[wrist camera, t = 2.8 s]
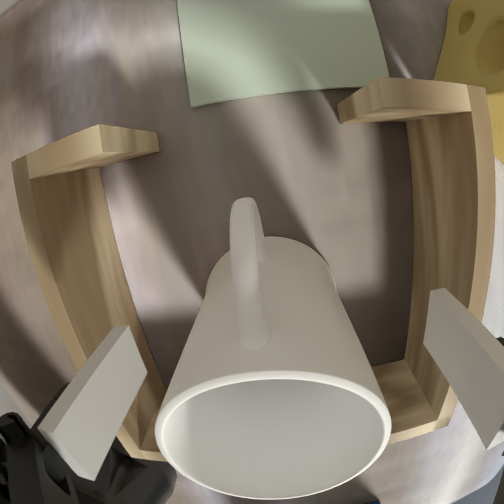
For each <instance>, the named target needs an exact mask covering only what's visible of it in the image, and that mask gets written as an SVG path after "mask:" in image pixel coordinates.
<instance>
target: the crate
mask: <svg viewBox="0 0 504 504" xmlns="http://www.w3.org/2000/svg"><path fill="white" fill-rule="evenodd" d="M337 108H338V114H339V120H340V124H346V123H366V122H406V127H407V135H408V143H409V152H410V162H411V174H412V189H413V212H414V258H413V282H412V297H411V309H410V319H409V328H408V336H407V344H406V351H405V358H404V360H399V361H395V362H391V363H386V364H382V365H377V366H372V367H371V368H372V371H373V373H374V376H375V378H376V380H377V383H378V385H379V387H380V390H381V392H382V395H383V397H384V400H385V402H386V405H387V407H388V410H389V413H390V417H391V434H390V438H389V441H388V443H387V445H388V444H392V443H395V442H399V441H403V440H406V439H409V438H413V437H416V436H419V435H422V434H425V433H428V432H431V431H434V430H437V429H440V428H443V427H445V426H448V424H449V422H450V419H451V417H452V415H453V412H454V410H455V407H456V404H457V402H458V398H457V396H456V394H455V393H454V391H453V389H452V388H451V386H450V384H449V383H448V381H447V379H446V378H445V376H444V375H443V373H442V372H441V370H440V368H439V367H438V365H437V364H436V362H435V361H434V359H433V358H432V356H431V354H430V353H429V351H428V350H427V348H426V347H425V345H424V344H423V341H424V335H425V329H426V322H427V314H428V306H429V298H430V291H431V290H436V289H441V288H446V289H447V290H448V291H449V292H450V293H451V294H452V295H453V296H454V297H455V298H456V299H457V300H458V301H459V302H460V303H461V304H462V305H464V306H465V307H466V308H467V309H468V310H469V311H470V312H471V313H472V314H473V315H474V316H475V317H476V318H477V319H478V320H479V321H480V322H482V317H483V312H484V307H485V302H486V297H487V291H488V285H489V278H490V271H491V263H492V254H493V243H494V229H495V162H494V148H493V137H492V129H491V121H490V114H489V107H488V101H487V96H486V90H485V88H484V87H478V86H472V85H466V84H459V83H452V82H443V81H434V80H423V79H410V78H389V77H377V78H376V79H374V80H373V81H371V82H370V83H368V84H367V85H365V86H364V87H362V88H361V89H359V90H358V91H356V92H355V93H353V94H352V95H350V96H349V97H347V98H346V99H344V100H343V101H341V102H340V103H338V104H337ZM159 151H160V148H159V142H158V136H157V132H151V131H145V130H138V129H132V128H125V127H118V126H110V125H103V124H97V125H95V126H92V127H89V128H87V129H84V130H81V131H79V132H76V133H74V134H71V135H69V136H67V137H64V138H62V139H59V140H57V141H55V142H53V143H50V144H48V145H46V146H44V147H42V148H39V149H37V150H35V151H33V152H31V153H29V154H27V155H25V156H23V157H21V158H19V159H17V160H15V161H13V162H11V163H12V171H13V177H14V183H15V189H16V195H17V200H18V205H19V210H20V214H21V219H22V223H23V227H24V231H25V235H26V239H27V243H28V246H29V250H30V253H31V257H32V260H33V263H34V266H35V270H36V273H37V276H38V279H39V282H40V285H41V288H42V290H43V293H44V296H45V299H46V301H47V304H48V306H49V309H50V312H51V314H52V317H53V319H54V321H55V324H56V326H57V328H58V331H59V333H60V335H61V338H62V340H63V342H64V344H65V346H66V348H67V351H68V353H69V355H70V357H71V359H72V361H73V363H74V365H75V367H76V369H77V371H78V372H79V370H80V369H81V368H82V367H83V365H84V364H85V363H86V361H87V360H88V359H89V357H90V356H91V355H92V354H93V352H94V351H95V350H96V349H97V347H98V346H99V345H100V344H101V342H102V341H103V340H104V339H105V337H106V336H107V335H108V334H109V332H110V331H111V330H112V329H113V327H114V326H122V325H129V328H130V330H131V333H132V335H133V338H134V341H135V343H136V346H137V348H138V351H139V353H140V356H141V358H142V361H143V363H144V365H145V368H146V370H147V372H148V373H147V375H146V377H145V379H144V381H143V383H142V385H141V386H140V388H139V390H138V392H137V394H136V396H135V398H134V400H133V402H132V404H131V406H130V408H129V410H128V412H127V414H126V416H125V418H124V420H123V422H122V424H121V426H120V428H119V430H118V432H117V434H116V436H117V438H118V439H119V441H120V442H121V443H122V445H123V446H124V448H125V449H126V450H127V452H128V453H129V455H130V456H131V457H133V458H139V459H147V460H155V461H164V462H168V461H167V460H166V459H165V457H164V456H163V455H162V453H161V451H160V449H159V447H158V445H157V442H156V438H155V424H156V419H157V416H158V413H159V411H160V408H161V405H162V403H163V400H164V398H165V395H166V392H167V390H168V387H169V386H164V384H163V381H162V379H161V377H160V374H159V372H158V369H157V367H156V364H155V362H154V359H153V357H152V354H151V351H150V349H149V346H148V343H147V341H146V338H145V335H144V332H143V330H142V327H141V324H140V321H139V318H138V315H137V312H136V309H135V306H134V303H133V300H132V297H131V294H130V290H129V287H128V284H127V281H126V277H125V274H124V270H123V267H122V263H121V260H120V256H119V252H118V248H117V245H116V241H115V237H114V233H113V228H112V224H111V220H110V216H109V211H108V207H107V202H106V197H105V192H104V187H103V182H102V176H101V171H100V167H104V166H107V165H110V164H114V163H117V162H121V161H125V160H128V159H132V158H136V157H139V156H143V155H147V154H151V153H155V152H159Z"/></svg>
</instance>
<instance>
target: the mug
mask: <svg viewBox="0 0 504 504" xmlns="http://www.w3.org/2000/svg"><path fill="white" fill-rule="evenodd" d="M390 434H391V417H390V413H389V410H388V407H387V405H386V402H385V400H384V397H383V395H382V392H381V390H380V387H379V385H378V383H377V380H376V378H375V376H374V373H373V371H372V368H371V366H370V364H369V361H368V359H367V357H366V355H365V352H364V350H363V348H362V345H361V343H360V341H359V339H358V336H357V334H356V332H355V330H354V328H353V325H352V323H351V321H350V319H349V317H348V315H347V312H346V310H345V308H344V306H343V304H342V302H341V300H340V297H339V295H338V293H337V289H336V283H335V279H334V276H333V274H332V272H331V270H330V268H329V266H328V265H327V263H326V262H325V261H324V259H323V258H322V257H321V256H320V255H319V254H318V253H317V252H315V251H314V250H313V249H311V248H310V247H308V246H307V245H305V244H303V243H301V242H298V241H296V240H293V239H289V238H284V237H275V236H269V237H264V233H263V228H262V223H261V219H260V214H259V210H258V207H257V204H256V202H255V200H254V199H253V198H249V197H245V198H240V199H238V200H236V201H235V202H234V203H233V205H232V208H231V213H230V250H229V251H228V252H227V253H225V254H224V255H223V256H222V257H221V258H220V260H219V261H218V262H217V263H216V265H215V266H214V268H213V270H212V271H211V273H210V276H209V278H208V282H207V286H206V293H205V298H204V300H203V303H202V305H201V308H200V310H199V313H198V315H197V317H196V320H195V322H194V325H193V327H192V330H191V332H190V335H189V337H188V339H187V342H186V344H185V347H184V349H183V352H182V354H181V357H180V359H179V362H178V364H177V367H176V369H175V372H174V374H173V377H172V380H171V382H170V385H169V387H168V390H167V392H166V395H165V398H164V400H163V403H162V405H161V408H160V411H159V413H158V416H157V419H156V424H155V438H156V442H157V445H158V447H159V449H160V451H161V453H162V455H163V456H164V457H165V459H166V460H167V461H168V462H169V463H170V464H171V465H172V466H173V467H174V468H175V469H176V470H177V471H178V472H180V473H181V474H182V475H184V476H185V477H187V478H188V479H190V480H192V481H194V482H195V483H197V484H199V485H201V486H204V487H206V488H209V489H211V490H214V491H217V492H220V493H224V494H227V495H232V496H237V497H242V498H250V499H264V500H275V499H290V498H297V497H303V496H308V495H312V494H316V493H320V492H323V491H326V490H329V489H332V488H334V487H337V486H339V485H341V484H343V483H345V482H347V481H349V480H351V479H353V478H354V477H356V476H357V475H359V474H360V473H362V472H363V471H364V470H366V469H367V468H368V467H369V466H370V465H371V464H373V463H374V462H375V461H376V459H377V458H378V457H379V456H380V455H381V453H382V452H383V450H384V449H385V447H386V445H387V443H388V441H389V438H390Z"/></svg>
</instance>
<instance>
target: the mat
mask: <svg viewBox="0 0 504 504" xmlns="http://www.w3.org/2000/svg"><path fill="white" fill-rule="evenodd" d="M177 7H178V15H179V24H180V32H181V40H182V48H183V56H184V63H185V71H186V78H187V85H188V92H189V99H190V105H191V107H192V108H194V107H199V106H204V105H209V104H214V103H219V102H224V101H230V100H236V99H242V98H248V97H255V96H262V95H270V94H278V93H287V92H296V91H308V90H321V89H340V88H362V87H364V86H365V85H367V84H368V83H370V82H371V81H373V80H374V79H376V78H377V77H389V73H388V68H387V64H386V59H385V55H384V51H383V47H382V43H381V39H380V36H379V32H378V28H377V25H376V22H375V18H374V15H373V12H372V9H371V5H370V2H369V0H177ZM389 78H390V77H389Z"/></svg>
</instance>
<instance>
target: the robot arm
mask: <svg viewBox="0 0 504 504" xmlns="http://www.w3.org/2000/svg"><path fill="white" fill-rule="evenodd" d="M423 344H424V345H425V347H426V348H427V350H428V351H429V353H430V354H431V356H432V358H433V359H434V361H435V362H436V364H437V365H438V367H439V368H440V370H441V372H442V373H443V375H444V376H445V378H446V379H447V381H448V383H449V384H450V386H451V388H452V389H453V391H454V393H455V394H456V396H457V398H458V399H459V401H460V403H461V404H462V406H463V408H464V410H465V411H466V413H467V415H468V417H469V418H470V420H471V422H472V424H473V425H474V427H475V429H476V431H477V433H478V435H479V436H480V438H481V440H482V442H483V444H484V446H485V448H486V450H487V449H489V448H491V447H493V446H495V445H497V444H499V443H501V442H503V441H504V338H502V337H499V338H495V337H494V336H493V335H492V334H491V333H490V332H489V331H488V329H487V328H486V327H485V326H484V325H483V324H482V323H481V322H480V321H479V320H478V319H477V318H476V317H475V316H474V315H473V314H472V313H471V312H470V311H469V310H468V309H467V308H466V307H465V306H464V305H462V304H461V303H460V302H459V301H458V300H457V299H456V298H455V297H454V296H453V295H452V294H451V293H450V292H449V291H448V290H447V289H446V288H441V289H436V290H431V291H430V298H429V306H428V314H427V322H426V329H425V335H424V341H423ZM147 373H148V372H147V370H146V368H145V365H144V363H143V361H142V358H141V356H140V353H139V351H138V348H137V346H136V343H135V341H134V338H133V335H132V333H131V330H130V328H129V325H122V326H114V327H113V329H112V330H111V331H110V332H109V334H108V335H107V336H106V337H105V339H104V340H103V341H102V342H101V344H100V345H99V346H98V347H97V349H96V350H95V351H94V352H93V354H92V355H91V356H90V357H89V359H88V360H87V361H86V363H85V364H84V365H83V367H82V368H81V369H80V370H79V372H78V373H77V374H76V376H75V377H74V378H73V380H72V381H71V382H70V383H68V384H66V385H65V386H64V387H62V388H61V389H60V390H59V391H58V392H57V394H56V395H55V396H54V398H53V400H51V402H50V403H49V404H48V406H47V407H46V408H45V410H44V411H43V413H42V414H41V415H40V417H39V418H38V419H37V421H36V422H35V424H34V425H33V426H32V428H31V429H29V428H28V426H27V425H26V423H25V422H24V421H23V419H22V418H21V416H20V415H19V414H17V413H14V412H10V413H6V414H4V415H3V416H1V417H0V437H1V438H0V504H165V503H166V501H167V500H168V498H169V497H170V496H171V495H172V493H173V490H174V486H175V482H176V478H177V475H176V472H175V469H174V468H173V466H172V465H171V464H170V463H169V462H164V461H155V460H147V459H139V458H133V457H131V456H130V455H129V453H128V452H127V450H126V449H125V448H124V446H123V445H122V443H121V442H120V441H119V439H118V438H117V436H116V434H117V432H118V430H119V428H120V426H121V424H122V422H123V420H124V418H125V416H126V414H127V412H128V410H129V408H130V406H131V404H132V402H133V400H134V398H135V396H136V394H137V392H138V390H139V388H140V386H141V385H142V383H143V381H144V379H145V377H146V375H147ZM501 456H504V451H503V453H502V455H501ZM493 504H504V470H503V474H502V478H501V481H500V484H499V487H498V491H497V494H496V496H495V499H494V503H493Z"/></svg>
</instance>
